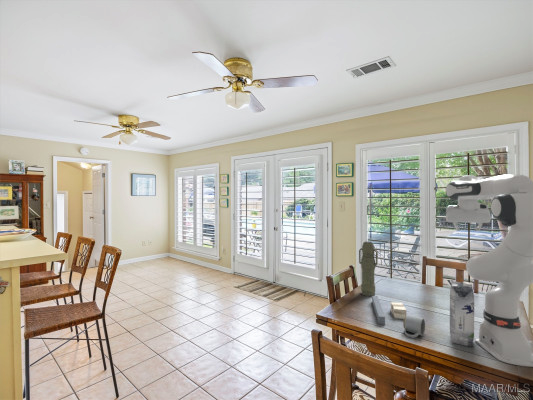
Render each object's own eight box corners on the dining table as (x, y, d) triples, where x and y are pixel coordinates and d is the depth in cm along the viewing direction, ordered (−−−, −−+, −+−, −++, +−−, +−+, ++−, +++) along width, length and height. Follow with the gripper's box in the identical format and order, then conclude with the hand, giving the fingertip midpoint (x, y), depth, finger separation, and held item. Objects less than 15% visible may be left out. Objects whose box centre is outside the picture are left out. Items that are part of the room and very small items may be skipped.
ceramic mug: (407, 326, 138) (407, 311, 138) (425, 332, 133) (425, 316, 132) (400, 335, 130) (400, 319, 130) (419, 341, 125) (419, 324, 125)
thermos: (377, 297, 177) (377, 243, 177) (358, 294, 183) (358, 242, 182) (378, 293, 185) (378, 241, 185) (359, 290, 191) (359, 240, 190)
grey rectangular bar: (385, 324, 140) (385, 317, 140) (378, 324, 141) (378, 316, 141) (377, 302, 169) (377, 296, 169) (372, 302, 170) (372, 295, 170)
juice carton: (449, 343, 123) (449, 283, 122) (449, 333, 132) (449, 277, 131) (474, 349, 118) (474, 286, 117) (472, 338, 127) (473, 280, 126)
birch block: (406, 319, 147) (406, 310, 147) (394, 318, 148) (394, 308, 148) (402, 311, 157) (402, 302, 157) (390, 310, 158) (390, 302, 158)
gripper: (448, 205, 149) (447, 230, 149) (492, 205, 144) (492, 232, 144) (443, 205, 155) (443, 229, 155) (486, 205, 150) (486, 230, 150)
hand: (467, 230), depth 150 cm, fingers open, 8 cm apart
